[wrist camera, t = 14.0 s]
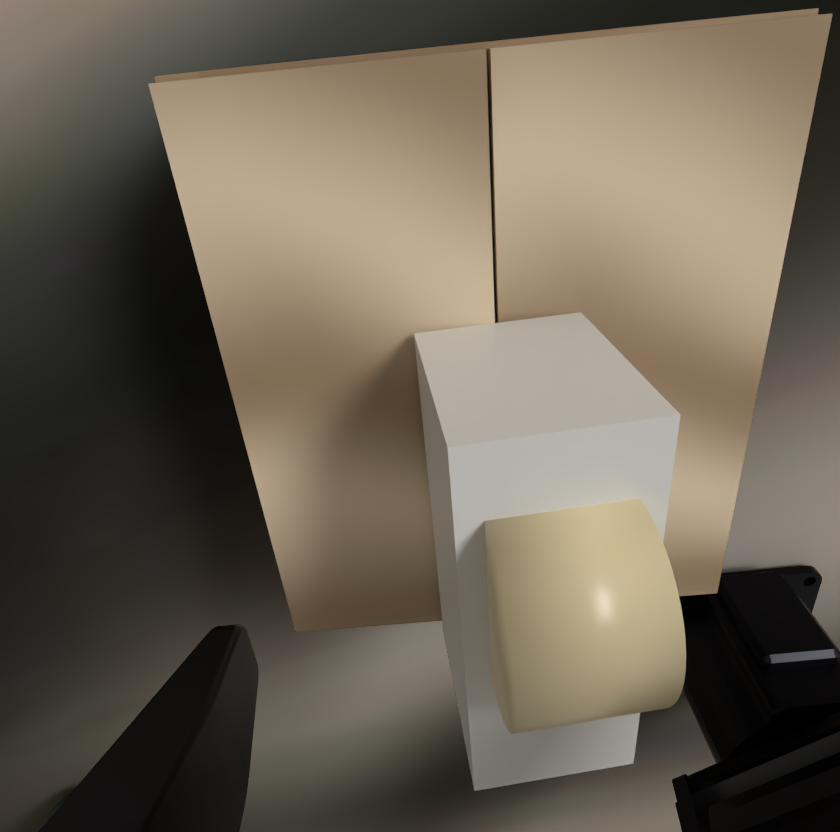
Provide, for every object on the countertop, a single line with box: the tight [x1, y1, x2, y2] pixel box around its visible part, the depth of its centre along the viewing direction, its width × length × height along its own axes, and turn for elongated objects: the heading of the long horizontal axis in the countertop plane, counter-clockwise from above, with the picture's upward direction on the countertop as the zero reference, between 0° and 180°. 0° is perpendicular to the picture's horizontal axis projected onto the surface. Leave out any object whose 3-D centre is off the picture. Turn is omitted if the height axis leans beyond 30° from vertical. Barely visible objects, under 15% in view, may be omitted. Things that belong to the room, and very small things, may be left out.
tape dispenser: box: [414, 312, 686, 791], centre depth 13 cm, size 9×4×6 cm, turn 5°
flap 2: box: [488, 14, 832, 596], centre depth 15 cm, size 14×6×1 cm, turn 5°
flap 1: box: [149, 49, 495, 632], centre depth 15 cm, size 14×6×1 cm, turn 5°
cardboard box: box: [155, 8, 819, 323], centre depth 18 cm, size 14×12×6 cm
